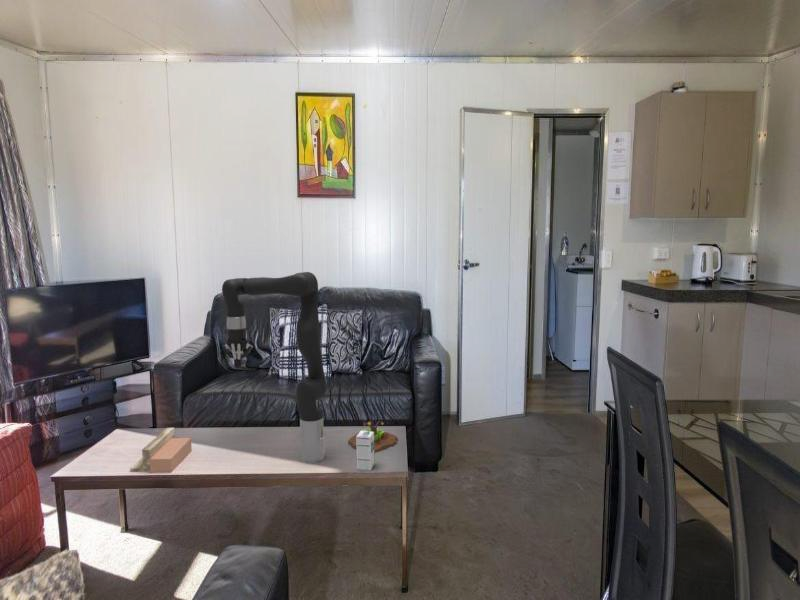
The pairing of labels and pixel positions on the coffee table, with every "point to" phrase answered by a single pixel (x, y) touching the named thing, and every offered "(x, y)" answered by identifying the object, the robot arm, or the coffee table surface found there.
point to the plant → (377, 438)
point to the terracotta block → (170, 455)
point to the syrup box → (365, 450)
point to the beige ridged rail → (152, 450)
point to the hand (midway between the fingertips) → (238, 367)
